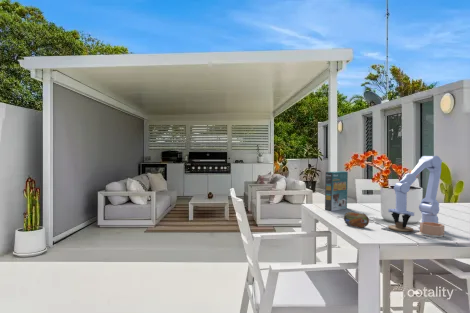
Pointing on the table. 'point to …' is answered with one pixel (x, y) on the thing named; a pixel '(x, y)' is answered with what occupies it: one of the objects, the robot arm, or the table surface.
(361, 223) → the tin
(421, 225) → the bowl
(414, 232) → the mat
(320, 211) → the table surface
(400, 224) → the lid
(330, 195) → the cake mix box
